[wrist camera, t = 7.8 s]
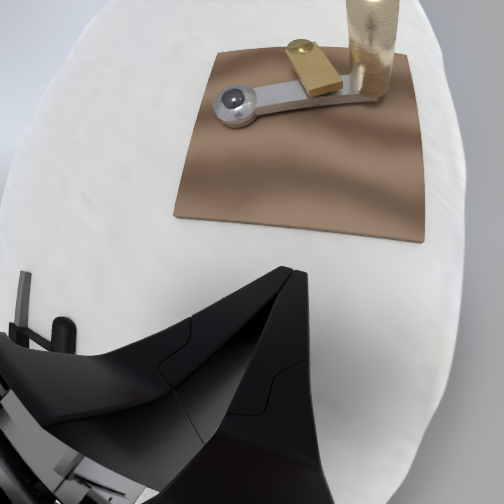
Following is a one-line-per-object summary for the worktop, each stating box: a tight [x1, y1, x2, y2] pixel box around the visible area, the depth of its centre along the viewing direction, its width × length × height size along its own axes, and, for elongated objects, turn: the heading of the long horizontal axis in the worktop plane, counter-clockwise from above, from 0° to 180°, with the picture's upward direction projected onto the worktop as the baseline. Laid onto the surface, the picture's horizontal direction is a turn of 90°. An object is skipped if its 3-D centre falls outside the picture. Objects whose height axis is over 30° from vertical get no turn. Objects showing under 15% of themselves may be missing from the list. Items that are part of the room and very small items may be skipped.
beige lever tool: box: [213, 0, 399, 128], centre depth 18 cm, size 16×4×11 cm, turn 93°
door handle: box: [9, 271, 75, 354], centre depth 29 cm, size 3×20×16 cm
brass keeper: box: [285, 39, 343, 98], centre depth 22 cm, size 7×3×3 cm, turn 16°
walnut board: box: [173, 47, 425, 243], centre depth 24 cm, size 20×21×1 cm
